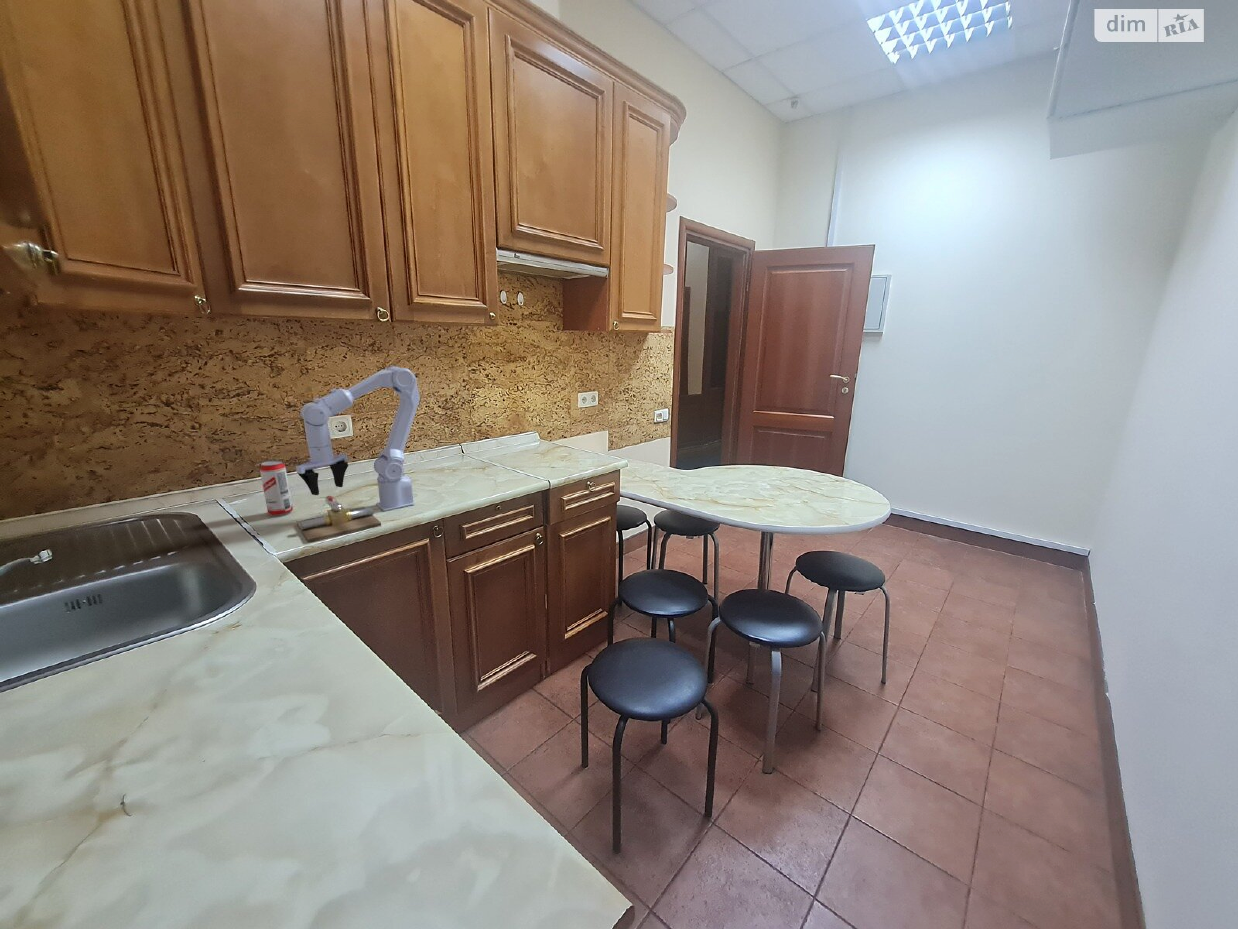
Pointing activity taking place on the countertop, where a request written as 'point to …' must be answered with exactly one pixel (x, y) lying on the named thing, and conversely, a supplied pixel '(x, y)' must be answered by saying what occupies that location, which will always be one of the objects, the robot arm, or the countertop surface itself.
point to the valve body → (336, 518)
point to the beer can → (276, 488)
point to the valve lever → (333, 503)
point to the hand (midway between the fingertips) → (327, 490)
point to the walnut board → (339, 528)
